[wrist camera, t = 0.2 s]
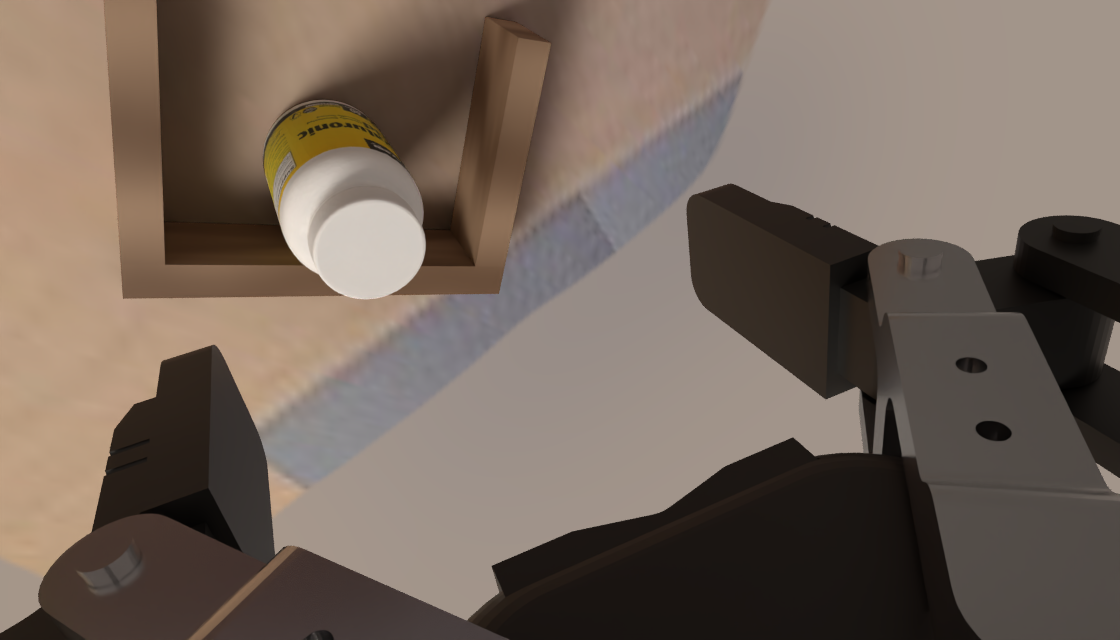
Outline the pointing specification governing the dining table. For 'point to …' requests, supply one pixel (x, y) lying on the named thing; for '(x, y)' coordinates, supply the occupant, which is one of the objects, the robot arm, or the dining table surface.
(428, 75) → the dining table surface
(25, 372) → the dining table surface
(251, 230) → the walnut cubby
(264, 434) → the dining table surface
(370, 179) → the supplement bottle
